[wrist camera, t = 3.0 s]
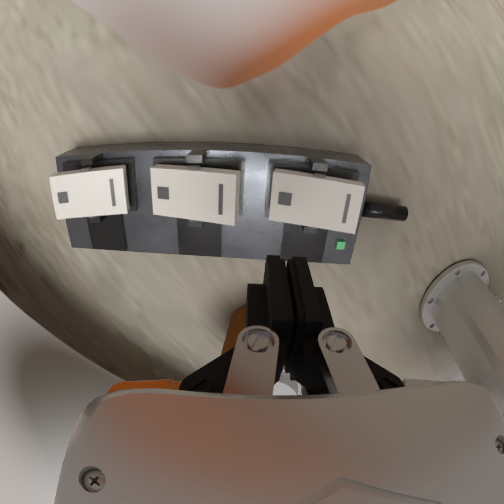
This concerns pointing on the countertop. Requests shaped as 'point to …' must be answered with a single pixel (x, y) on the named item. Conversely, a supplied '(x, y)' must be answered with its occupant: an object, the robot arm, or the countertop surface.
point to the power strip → (250, 202)
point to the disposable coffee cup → (235, 328)
